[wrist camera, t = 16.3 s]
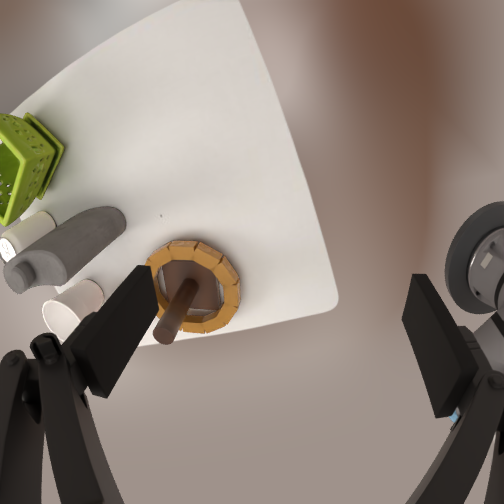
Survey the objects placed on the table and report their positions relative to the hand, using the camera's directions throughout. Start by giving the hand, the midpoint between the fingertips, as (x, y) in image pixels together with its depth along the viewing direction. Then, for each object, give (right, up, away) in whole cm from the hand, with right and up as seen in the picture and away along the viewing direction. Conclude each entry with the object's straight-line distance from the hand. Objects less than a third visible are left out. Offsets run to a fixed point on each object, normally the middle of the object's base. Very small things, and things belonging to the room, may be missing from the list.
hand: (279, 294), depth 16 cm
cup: (-33, -6, +43) cm, 55 cm away
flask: (-29, +7, +37) cm, 47 cm away
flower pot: (-40, +20, +32) cm, 54 cm away
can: (-41, +7, +38) cm, 57 cm away
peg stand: (-11, -3, +38) cm, 40 cm away
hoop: (-11, -4, +37) cm, 39 cm away
